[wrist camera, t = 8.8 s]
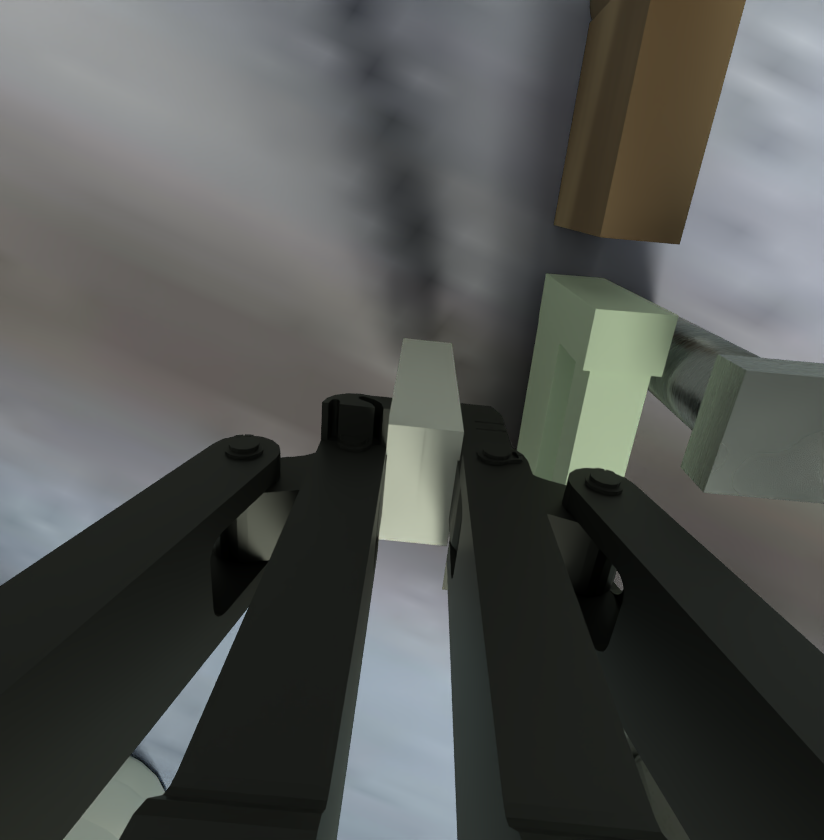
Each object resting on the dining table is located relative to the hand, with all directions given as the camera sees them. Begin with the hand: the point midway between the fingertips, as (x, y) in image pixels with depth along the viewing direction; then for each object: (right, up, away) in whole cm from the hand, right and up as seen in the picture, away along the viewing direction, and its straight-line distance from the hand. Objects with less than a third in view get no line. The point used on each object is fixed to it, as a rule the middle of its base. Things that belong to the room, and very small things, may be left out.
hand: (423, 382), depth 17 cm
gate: (+4, -1, +2) cm, 5 cm away
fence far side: (+5, +7, -1) cm, 9 cm away
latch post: (+7, +2, +1) cm, 7 cm away
